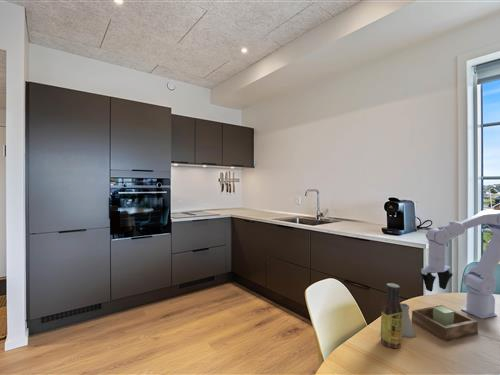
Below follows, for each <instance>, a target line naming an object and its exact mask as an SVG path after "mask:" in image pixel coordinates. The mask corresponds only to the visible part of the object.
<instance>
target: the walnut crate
mask: <svg viewBox="0 0 500 375" xmlns="http://www.w3.org/2000/svg"><path fill="white" fill-rule="evenodd" d="M439 306H443V307H445V308H447V309H450V310H452V311H454V324H452V325H448V326H444V325H442V324H440V323H438V322H436V321H434V320H433V308H434V307H439ZM411 323H413V324H415V325H417V326H418V327H420V328H421V329H423V330H425V331H427V332H429V333H430V334H432V335H434V336H435V337H437V338H439V339H440V340H442V341H444V342H449V341H453V340H458V339H463V338H465V337H471V336H474V335H477V334H479V333H478V332H479V330H478V329H479V321H478V320H476V319H474V318H472V317H470V316H467V315H466V314H463V313H460V312H459V311H456V310H454V309H452V308H449V307H447V306H446V305H442V304H441V305H434V306H430V307H429V306H428V307H425V308H418V309H414V310H413V309H412V310H411Z"/></svg>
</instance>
